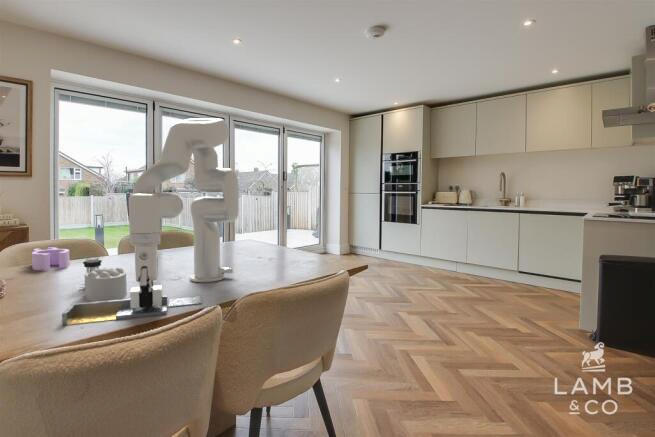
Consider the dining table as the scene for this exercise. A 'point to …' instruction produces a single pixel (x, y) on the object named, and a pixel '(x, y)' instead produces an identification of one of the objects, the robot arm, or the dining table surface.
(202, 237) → the robot arm
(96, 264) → the push button
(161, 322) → the dining table surface
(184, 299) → the tab
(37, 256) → the purple lobed block
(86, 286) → the lumpy-topped squat cylinder
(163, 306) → the rail
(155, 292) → the clip block
